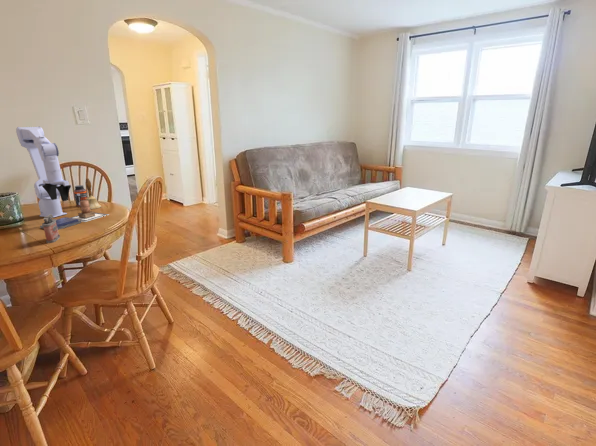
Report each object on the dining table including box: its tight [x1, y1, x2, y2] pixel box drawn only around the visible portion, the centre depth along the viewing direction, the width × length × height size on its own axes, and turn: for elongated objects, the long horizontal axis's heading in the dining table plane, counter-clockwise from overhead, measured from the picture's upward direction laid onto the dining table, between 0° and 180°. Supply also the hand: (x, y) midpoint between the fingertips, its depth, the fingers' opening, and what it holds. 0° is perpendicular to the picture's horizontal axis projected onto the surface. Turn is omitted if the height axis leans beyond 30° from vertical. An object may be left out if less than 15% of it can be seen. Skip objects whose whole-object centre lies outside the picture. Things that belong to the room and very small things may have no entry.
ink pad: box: [39, 216, 82, 231], centre depth 153 cm, size 10×12×2 cm
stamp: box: [77, 200, 96, 219], centre depth 164 cm, size 5×5×8 cm
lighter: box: [41, 214, 61, 244], centre depth 134 cm, size 8×3×10 cm, turn 17°
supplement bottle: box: [73, 184, 89, 208], centre depth 186 cm, size 6×6×11 cm
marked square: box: [70, 212, 110, 223], centre depth 166 cm, size 13×13×1 cm
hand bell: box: [85, 177, 102, 210], centre depth 181 cm, size 8×8×16 cm
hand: (59, 200), depth 156 cm, fingers open, 7 cm apart
